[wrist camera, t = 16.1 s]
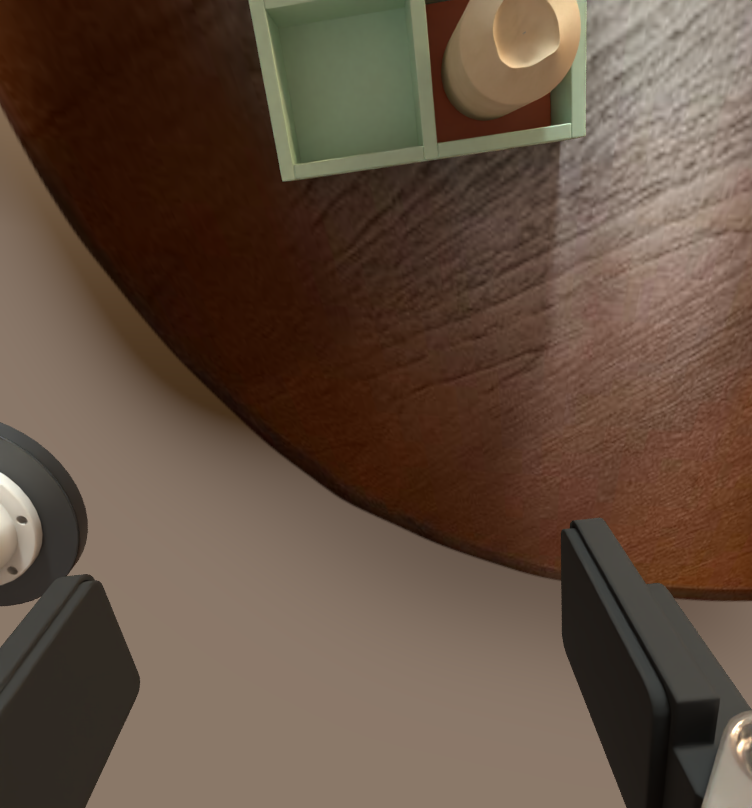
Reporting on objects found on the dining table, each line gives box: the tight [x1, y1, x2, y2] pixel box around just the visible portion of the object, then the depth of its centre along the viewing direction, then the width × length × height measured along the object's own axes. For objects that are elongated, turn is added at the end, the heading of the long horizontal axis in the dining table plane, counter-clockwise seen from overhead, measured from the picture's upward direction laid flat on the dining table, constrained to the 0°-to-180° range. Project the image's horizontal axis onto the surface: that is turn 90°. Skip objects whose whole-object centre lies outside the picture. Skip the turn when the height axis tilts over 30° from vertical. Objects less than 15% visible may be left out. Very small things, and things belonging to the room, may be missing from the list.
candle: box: [441, 0, 581, 121], centre depth 28 cm, size 6×6×10 cm
